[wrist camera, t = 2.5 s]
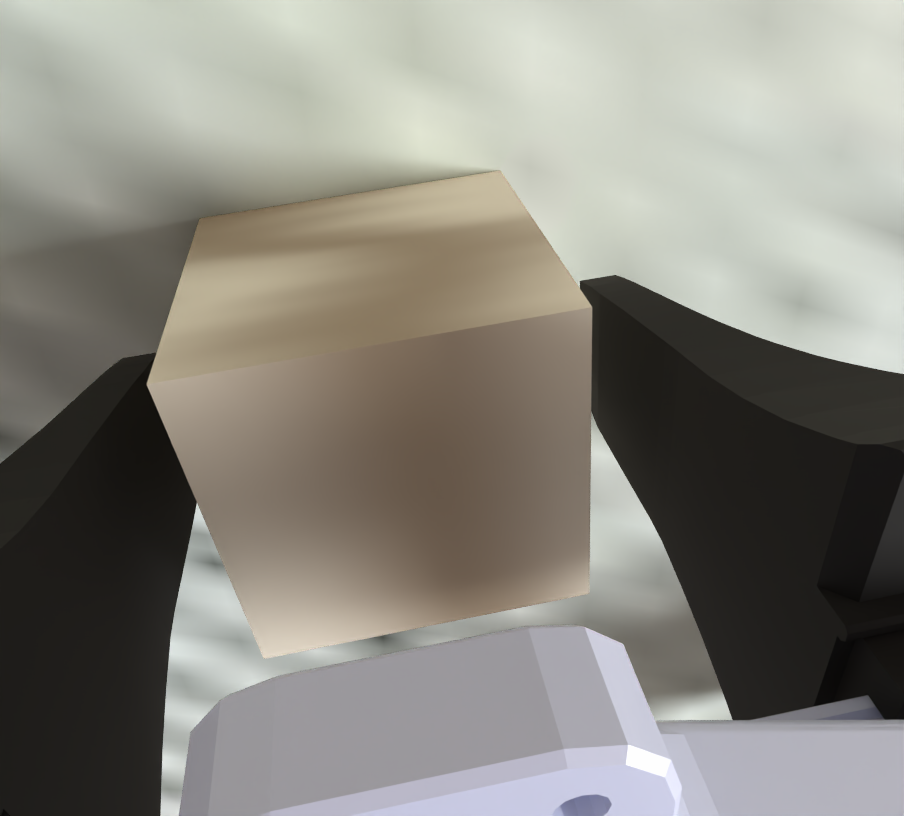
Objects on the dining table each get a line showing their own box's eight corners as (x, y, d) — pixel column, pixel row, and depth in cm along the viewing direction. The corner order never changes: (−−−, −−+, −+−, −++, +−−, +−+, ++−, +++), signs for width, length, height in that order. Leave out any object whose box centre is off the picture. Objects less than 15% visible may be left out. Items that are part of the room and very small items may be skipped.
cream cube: (275, 450, 15) (264, 658, 11) (200, 216, 12) (146, 384, 8) (514, 406, 15) (588, 593, 11) (499, 169, 12) (592, 307, 8)
